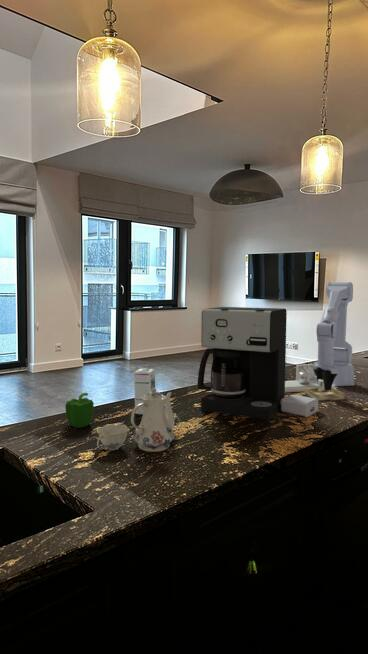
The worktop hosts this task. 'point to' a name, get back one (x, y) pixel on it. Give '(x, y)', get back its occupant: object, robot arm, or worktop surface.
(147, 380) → the syrup box
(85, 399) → the bell pepper
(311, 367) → the scale
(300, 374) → the spacer
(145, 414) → the chinaware
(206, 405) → the coffee maker
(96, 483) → the worktop surface
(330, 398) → the tray
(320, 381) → the cylinder
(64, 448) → the worktop surface
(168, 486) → the worktop surface
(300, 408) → the charger
